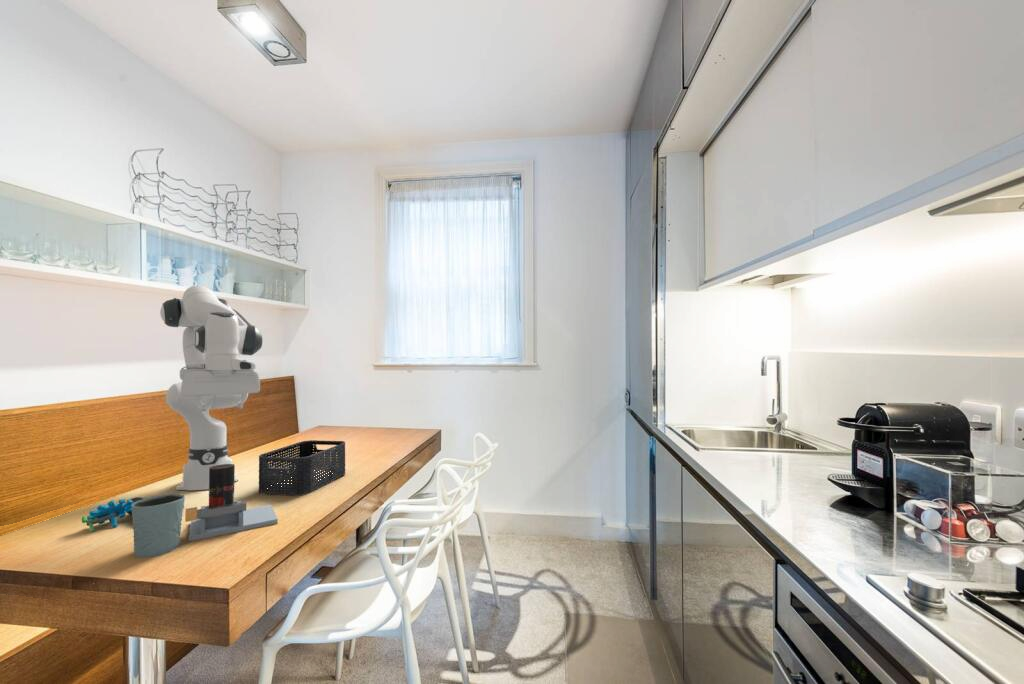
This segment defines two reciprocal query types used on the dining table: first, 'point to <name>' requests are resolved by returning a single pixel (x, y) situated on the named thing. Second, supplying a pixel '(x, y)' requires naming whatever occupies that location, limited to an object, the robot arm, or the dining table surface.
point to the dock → (232, 522)
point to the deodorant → (221, 485)
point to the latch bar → (213, 511)
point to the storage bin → (300, 467)
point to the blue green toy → (108, 513)
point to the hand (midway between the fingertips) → (221, 409)
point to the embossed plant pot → (157, 524)
